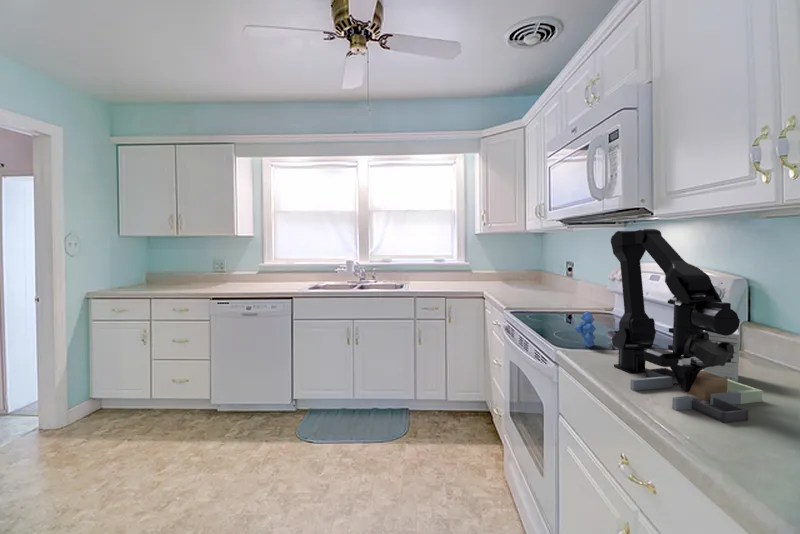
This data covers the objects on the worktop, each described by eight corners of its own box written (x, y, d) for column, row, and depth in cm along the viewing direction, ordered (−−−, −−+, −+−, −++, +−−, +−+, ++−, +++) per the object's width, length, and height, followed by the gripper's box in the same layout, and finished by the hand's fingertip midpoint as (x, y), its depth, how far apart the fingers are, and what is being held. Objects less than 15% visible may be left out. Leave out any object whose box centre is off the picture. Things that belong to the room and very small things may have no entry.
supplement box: (703, 369, 114) (705, 325, 113) (737, 375, 109) (739, 329, 109) (702, 376, 108) (704, 330, 108) (738, 382, 104) (740, 333, 103)
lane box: (610, 379, 106) (610, 370, 106) (683, 373, 111) (684, 364, 111) (706, 424, 80) (707, 412, 80) (798, 414, 84) (798, 402, 84)
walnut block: (682, 390, 98) (682, 372, 98) (702, 388, 99) (703, 370, 99) (704, 400, 92) (705, 380, 92) (726, 398, 93) (727, 379, 93)
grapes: (571, 341, 148) (572, 308, 147) (591, 342, 146) (592, 309, 145) (576, 349, 136) (577, 314, 136) (598, 350, 135) (599, 315, 134)
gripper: (684, 335, 84) (681, 408, 85) (757, 331, 88) (754, 401, 89) (642, 325, 95) (640, 389, 96) (709, 321, 99) (706, 384, 100)
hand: (685, 391), depth 95 cm, fingers closed
